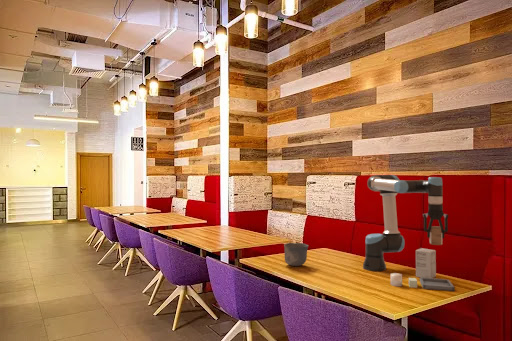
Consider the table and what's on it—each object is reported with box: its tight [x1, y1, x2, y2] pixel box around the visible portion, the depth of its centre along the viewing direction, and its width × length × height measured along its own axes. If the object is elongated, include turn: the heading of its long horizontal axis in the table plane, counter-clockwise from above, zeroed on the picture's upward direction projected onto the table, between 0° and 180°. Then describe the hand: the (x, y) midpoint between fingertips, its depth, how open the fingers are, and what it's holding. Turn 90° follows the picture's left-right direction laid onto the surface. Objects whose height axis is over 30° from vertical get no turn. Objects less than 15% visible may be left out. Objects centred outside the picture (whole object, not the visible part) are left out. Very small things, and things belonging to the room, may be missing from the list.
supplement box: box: [415, 247, 437, 278], centre depth 236 cm, size 10×9×17 cm
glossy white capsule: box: [390, 272, 403, 287], centre depth 219 cm, size 6×6×6 cm
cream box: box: [408, 277, 418, 289], centre depth 216 cm, size 6×4×4 cm, turn 163°
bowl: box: [283, 242, 309, 267], centre depth 265 cm, size 18×18×15 cm
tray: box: [419, 277, 456, 292], centre depth 216 cm, size 16×16×2 cm
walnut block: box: [430, 225, 442, 246], centre depth 216 cm, size 5×5×10 cm
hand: (435, 243), depth 216 cm, fingers closed on walnut block, 5 cm apart
